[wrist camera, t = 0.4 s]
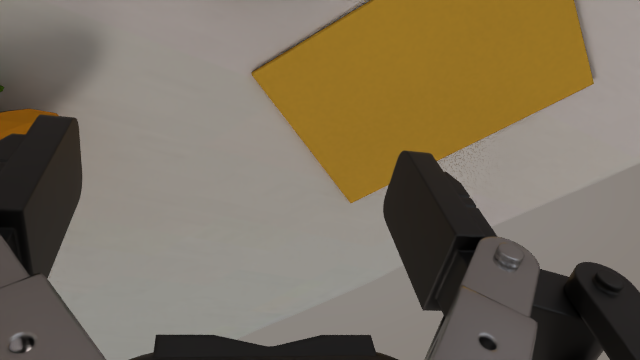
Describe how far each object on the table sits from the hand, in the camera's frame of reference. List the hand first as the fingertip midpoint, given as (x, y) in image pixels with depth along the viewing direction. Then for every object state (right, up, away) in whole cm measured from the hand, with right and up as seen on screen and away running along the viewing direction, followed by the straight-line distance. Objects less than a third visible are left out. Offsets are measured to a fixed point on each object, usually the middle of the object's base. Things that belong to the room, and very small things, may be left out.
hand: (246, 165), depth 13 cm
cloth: (+9, +7, +22) cm, 25 cm away
